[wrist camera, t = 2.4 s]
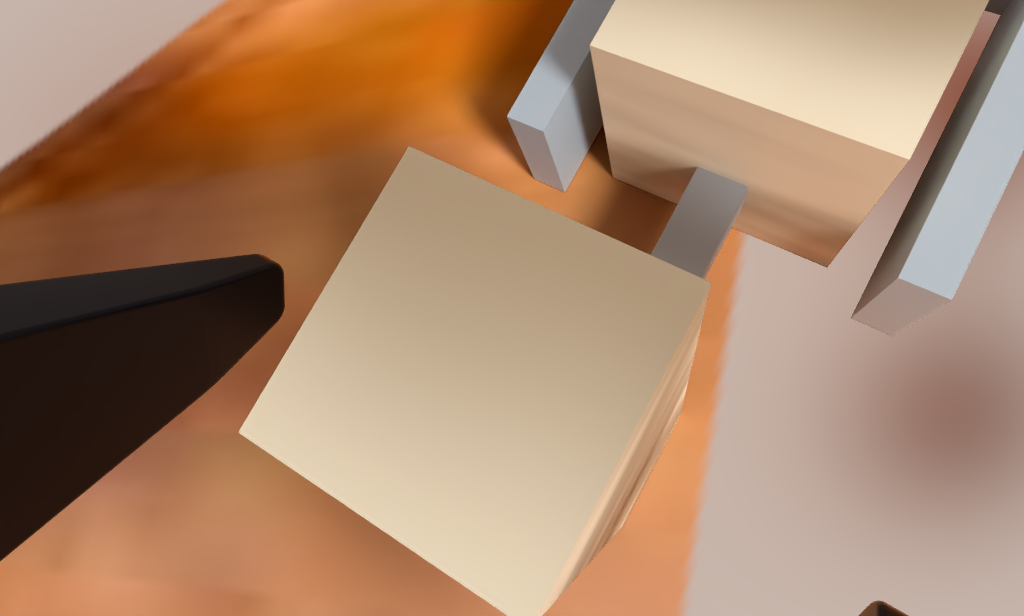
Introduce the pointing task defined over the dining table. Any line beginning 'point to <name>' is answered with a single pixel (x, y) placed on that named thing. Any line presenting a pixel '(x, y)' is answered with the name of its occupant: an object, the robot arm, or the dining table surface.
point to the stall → (931, 209)
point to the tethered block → (590, 282)
